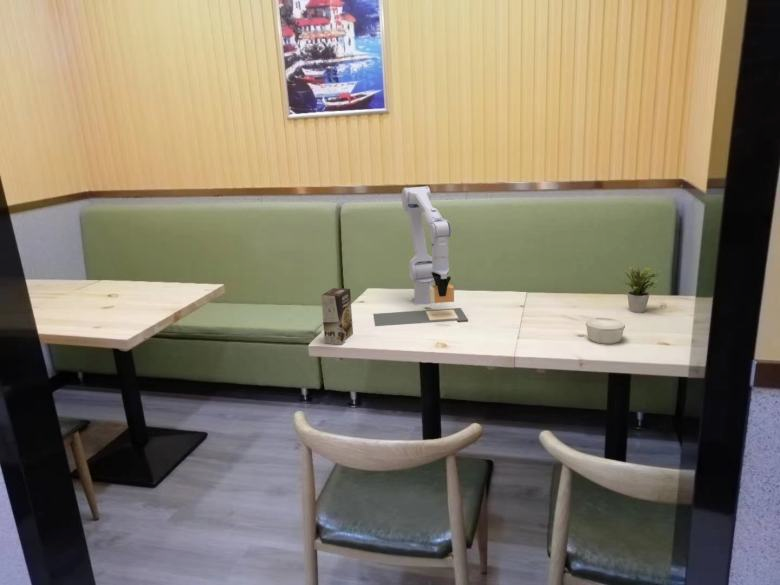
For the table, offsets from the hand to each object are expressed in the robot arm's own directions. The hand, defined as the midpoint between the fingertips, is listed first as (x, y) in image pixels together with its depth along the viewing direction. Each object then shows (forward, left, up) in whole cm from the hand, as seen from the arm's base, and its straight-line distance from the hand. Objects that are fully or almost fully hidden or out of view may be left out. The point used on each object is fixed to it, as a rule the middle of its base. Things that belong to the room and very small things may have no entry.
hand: (441, 294), depth 204 cm
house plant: (+9, +67, -9) cm, 68 cm away
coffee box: (+16, -36, -9) cm, 40 cm away
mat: (0, -8, -8) cm, 12 cm away
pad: (0, 0, -8) cm, 8 cm away
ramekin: (+32, +45, -9) cm, 56 cm away
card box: (0, 0, -2) cm, 2 cm away
